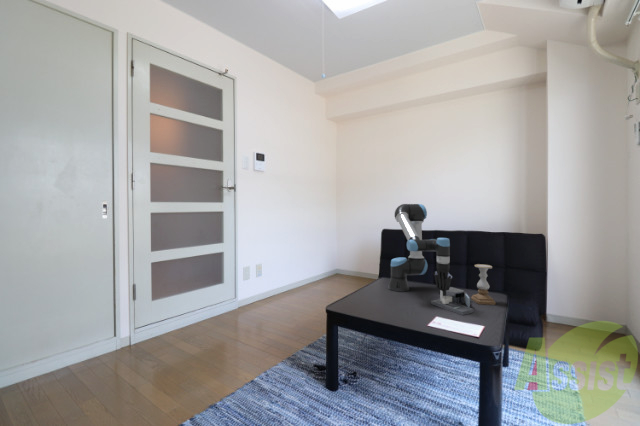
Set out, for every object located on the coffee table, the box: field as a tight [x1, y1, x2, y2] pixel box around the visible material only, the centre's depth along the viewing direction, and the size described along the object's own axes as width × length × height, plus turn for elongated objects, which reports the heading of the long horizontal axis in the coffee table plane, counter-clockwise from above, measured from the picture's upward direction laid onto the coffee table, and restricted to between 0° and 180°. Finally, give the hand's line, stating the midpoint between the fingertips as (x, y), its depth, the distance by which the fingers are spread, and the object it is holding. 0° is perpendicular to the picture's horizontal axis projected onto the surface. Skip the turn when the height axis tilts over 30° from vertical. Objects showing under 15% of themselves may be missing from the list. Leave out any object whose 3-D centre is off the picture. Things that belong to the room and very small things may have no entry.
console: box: [430, 298, 474, 316], centre depth 176 cm, size 22×10×2 cm, turn 29°
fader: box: [442, 298, 449, 304], centre depth 177 cm, size 2×3×3 cm
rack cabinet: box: [445, 286, 466, 305], centre depth 187 cm, size 10×10×8 cm
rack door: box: [464, 292, 474, 308], centre depth 180 cm, size 3×10×7 cm, turn 164°
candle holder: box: [470, 263, 496, 306], centre depth 188 cm, size 11×11×24 cm
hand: (442, 300), depth 179 cm, fingers closed
